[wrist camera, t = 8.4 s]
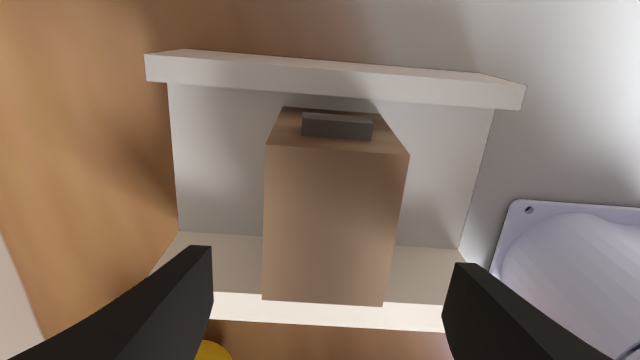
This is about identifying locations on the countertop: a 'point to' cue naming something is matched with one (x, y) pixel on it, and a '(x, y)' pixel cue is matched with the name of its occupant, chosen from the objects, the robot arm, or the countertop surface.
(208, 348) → the lemon
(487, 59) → the countertop surface
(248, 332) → the countertop surface
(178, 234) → the white stand
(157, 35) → the countertop surface
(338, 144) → the cabinet block
